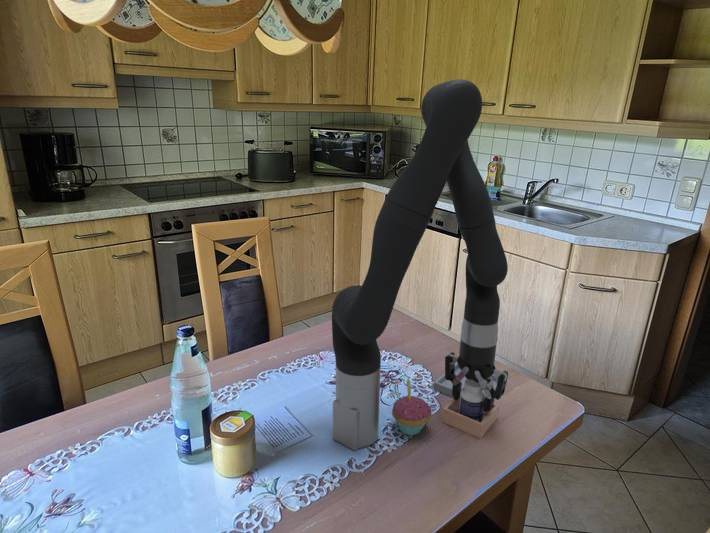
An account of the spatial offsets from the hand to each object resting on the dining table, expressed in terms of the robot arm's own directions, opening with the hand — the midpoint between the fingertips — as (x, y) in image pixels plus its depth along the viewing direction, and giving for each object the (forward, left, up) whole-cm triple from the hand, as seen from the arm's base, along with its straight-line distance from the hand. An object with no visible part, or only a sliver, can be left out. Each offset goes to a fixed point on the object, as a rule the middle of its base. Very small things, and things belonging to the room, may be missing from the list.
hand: (471, 404), depth 108 cm
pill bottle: (0, 0, -4) cm, 4 cm away
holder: (0, 0, -4) cm, 4 cm away
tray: (+12, +6, -4) cm, 14 cm away
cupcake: (-11, +9, -4) cm, 15 cm away
